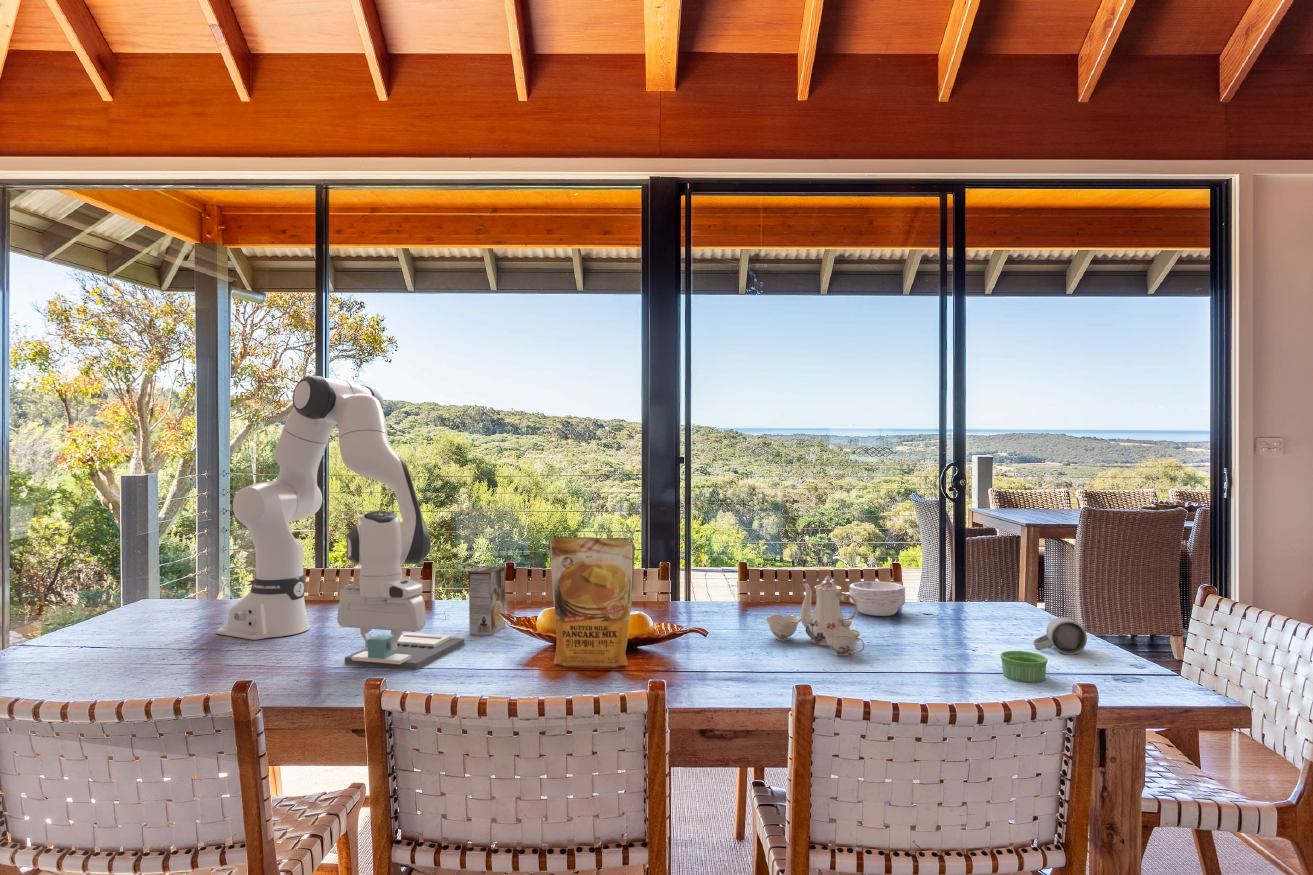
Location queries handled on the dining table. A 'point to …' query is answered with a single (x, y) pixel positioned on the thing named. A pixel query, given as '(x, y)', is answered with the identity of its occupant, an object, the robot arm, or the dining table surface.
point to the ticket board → (416, 650)
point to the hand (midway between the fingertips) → (381, 648)
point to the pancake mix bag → (591, 600)
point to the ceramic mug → (1063, 636)
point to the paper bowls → (878, 597)
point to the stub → (380, 652)
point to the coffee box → (486, 600)
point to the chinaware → (821, 620)
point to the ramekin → (1024, 666)
